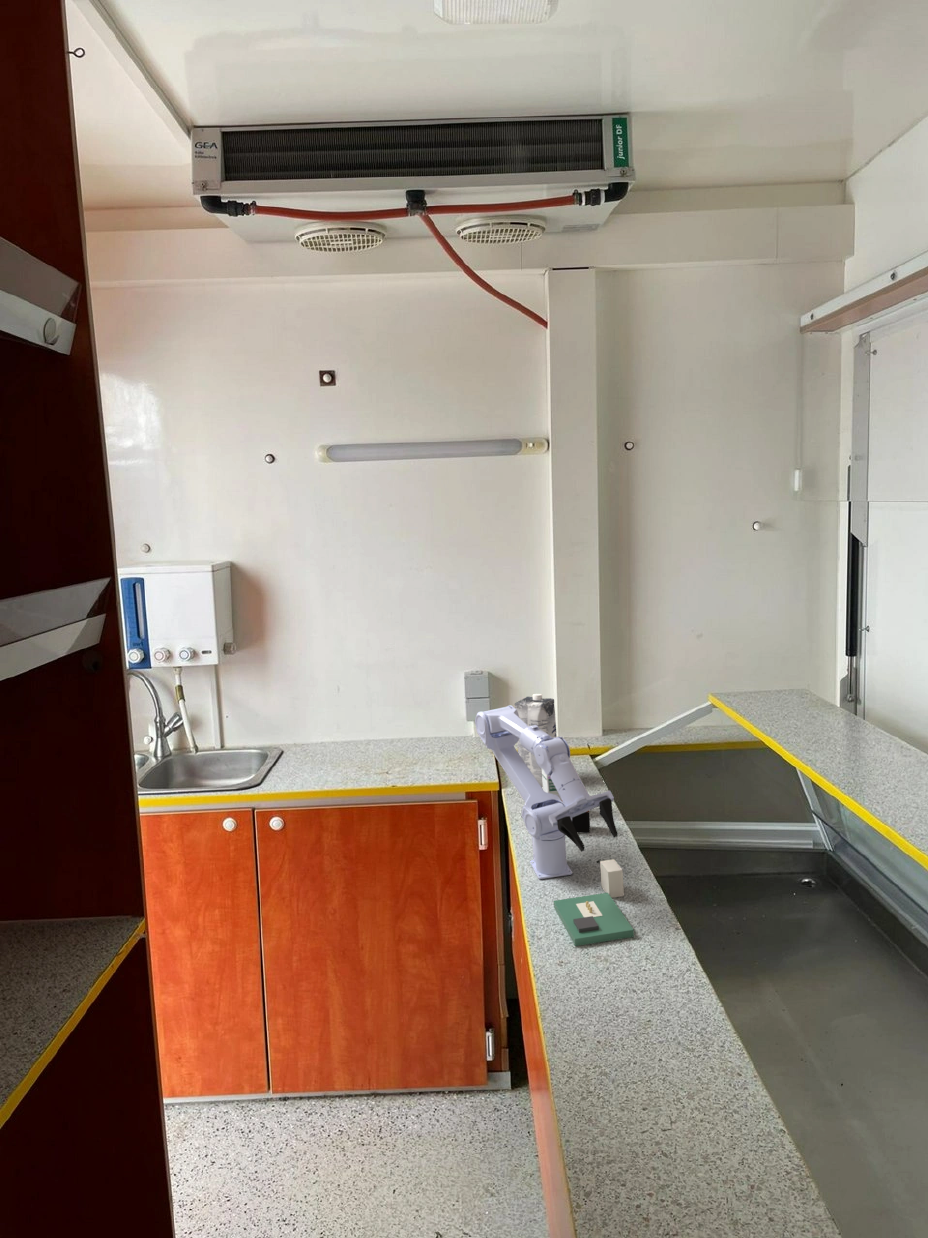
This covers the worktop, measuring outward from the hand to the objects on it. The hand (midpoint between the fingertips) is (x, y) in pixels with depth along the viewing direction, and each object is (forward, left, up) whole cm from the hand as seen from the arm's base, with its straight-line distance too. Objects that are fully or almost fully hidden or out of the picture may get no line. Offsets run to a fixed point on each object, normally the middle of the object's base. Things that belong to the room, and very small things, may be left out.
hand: (599, 842), depth 184 cm
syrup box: (-51, +4, -14) cm, 54 cm away
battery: (-39, +6, -14) cm, 42 cm away
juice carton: (-74, +5, -14) cm, 76 cm away
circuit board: (+6, -4, -14) cm, 16 cm away
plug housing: (-5, +4, -14) cm, 16 cm away
